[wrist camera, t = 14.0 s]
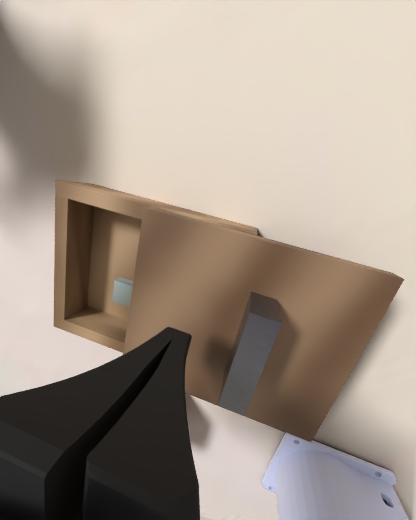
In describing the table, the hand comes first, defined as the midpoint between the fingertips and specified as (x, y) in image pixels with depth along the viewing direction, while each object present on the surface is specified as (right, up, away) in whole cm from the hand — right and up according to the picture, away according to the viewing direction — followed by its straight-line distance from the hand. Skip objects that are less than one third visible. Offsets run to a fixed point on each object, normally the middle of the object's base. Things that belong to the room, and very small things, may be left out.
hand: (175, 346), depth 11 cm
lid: (+3, 0, +3) cm, 5 cm away
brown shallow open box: (-3, +3, +8) cm, 9 cm away
